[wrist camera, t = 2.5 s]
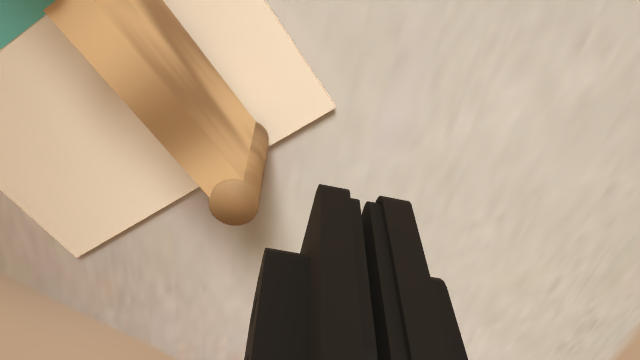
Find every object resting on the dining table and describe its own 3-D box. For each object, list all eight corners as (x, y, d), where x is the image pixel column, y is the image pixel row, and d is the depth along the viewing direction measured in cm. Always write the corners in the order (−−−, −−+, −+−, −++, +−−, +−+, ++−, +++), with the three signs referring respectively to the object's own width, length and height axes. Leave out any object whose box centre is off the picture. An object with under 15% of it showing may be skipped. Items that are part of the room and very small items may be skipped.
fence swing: (95, -22, 21) (33, 16, 16) (130, -48, 20) (76, -17, 16) (244, 161, 25) (228, 232, 20) (276, 143, 25) (267, 211, 20)
